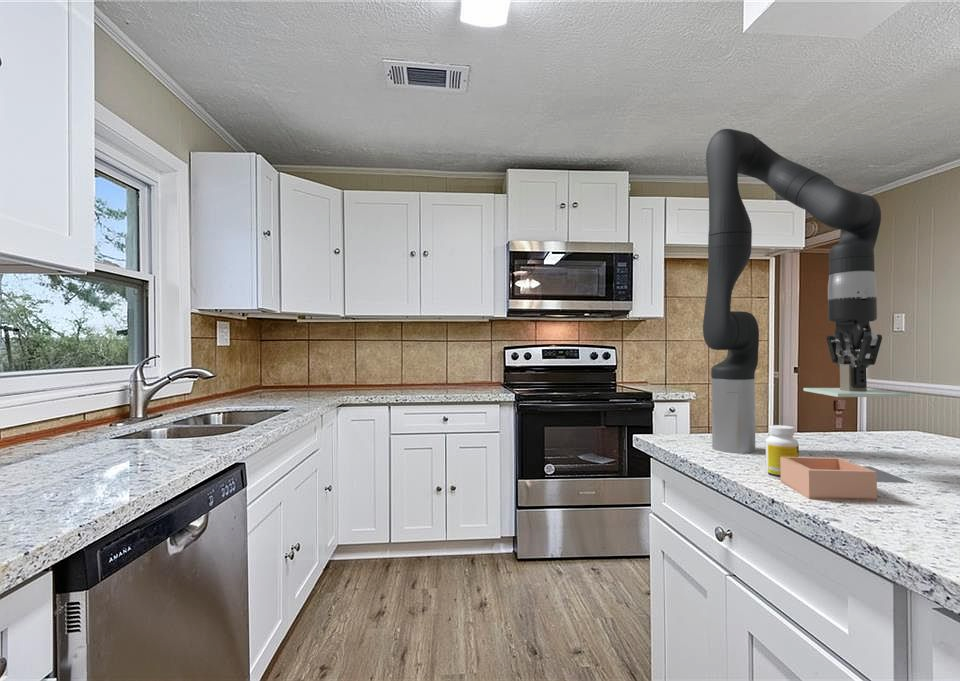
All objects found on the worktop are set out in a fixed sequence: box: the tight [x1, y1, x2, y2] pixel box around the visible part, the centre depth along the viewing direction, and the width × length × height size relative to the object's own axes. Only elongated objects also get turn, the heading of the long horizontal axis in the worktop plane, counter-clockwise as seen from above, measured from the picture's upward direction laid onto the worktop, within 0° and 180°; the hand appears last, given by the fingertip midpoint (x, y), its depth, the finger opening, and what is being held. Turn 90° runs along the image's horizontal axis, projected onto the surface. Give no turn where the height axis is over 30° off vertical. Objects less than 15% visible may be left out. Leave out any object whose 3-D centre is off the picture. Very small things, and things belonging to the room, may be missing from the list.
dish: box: [780, 456, 878, 502], centre depth 85 cm, size 10×10×5 cm
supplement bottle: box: [765, 424, 800, 481], centre depth 95 cm, size 5×5×10 cm
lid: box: [803, 364, 911, 398], centre depth 96 cm, size 12×12×6 cm
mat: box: [863, 465, 914, 484], centre depth 96 cm, size 12×12×1 cm
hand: (853, 386), depth 96 cm, fingers closed on lid, 3 cm apart
